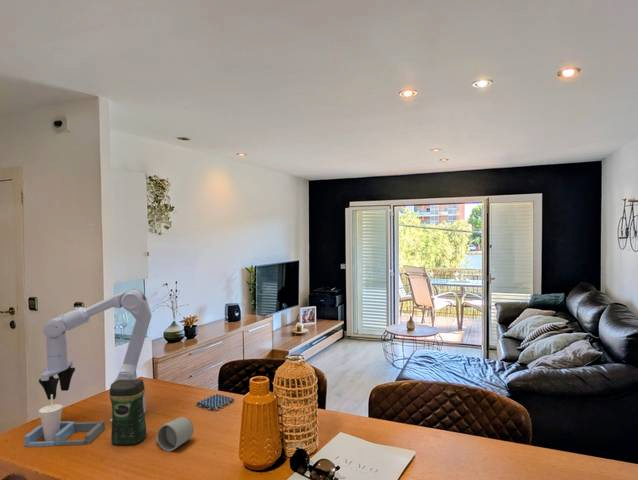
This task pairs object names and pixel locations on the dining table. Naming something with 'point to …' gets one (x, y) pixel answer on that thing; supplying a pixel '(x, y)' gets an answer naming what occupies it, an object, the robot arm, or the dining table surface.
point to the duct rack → (66, 434)
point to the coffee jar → (127, 412)
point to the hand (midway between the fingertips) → (58, 394)
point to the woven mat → (215, 402)
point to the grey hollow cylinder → (174, 433)
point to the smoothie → (50, 420)
